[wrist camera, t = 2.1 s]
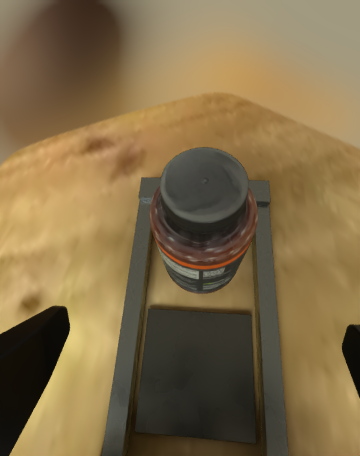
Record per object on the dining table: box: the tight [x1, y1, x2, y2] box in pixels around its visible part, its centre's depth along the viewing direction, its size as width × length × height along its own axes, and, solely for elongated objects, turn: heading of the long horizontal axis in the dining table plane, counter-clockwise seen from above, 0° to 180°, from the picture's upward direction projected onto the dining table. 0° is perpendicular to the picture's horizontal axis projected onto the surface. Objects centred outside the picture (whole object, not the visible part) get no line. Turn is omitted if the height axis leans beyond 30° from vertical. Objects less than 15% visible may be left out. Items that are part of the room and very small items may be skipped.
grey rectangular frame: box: [102, 177, 289, 456], centre depth 20 cm, size 20×11×2 cm, turn 176°
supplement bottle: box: [149, 147, 258, 294], centre depth 17 cm, size 6×6×11 cm
